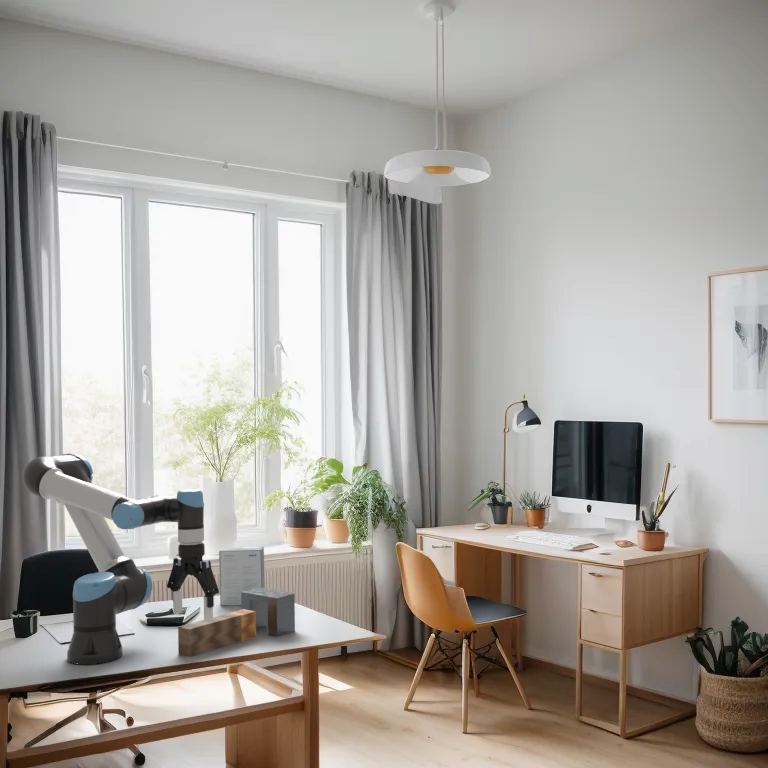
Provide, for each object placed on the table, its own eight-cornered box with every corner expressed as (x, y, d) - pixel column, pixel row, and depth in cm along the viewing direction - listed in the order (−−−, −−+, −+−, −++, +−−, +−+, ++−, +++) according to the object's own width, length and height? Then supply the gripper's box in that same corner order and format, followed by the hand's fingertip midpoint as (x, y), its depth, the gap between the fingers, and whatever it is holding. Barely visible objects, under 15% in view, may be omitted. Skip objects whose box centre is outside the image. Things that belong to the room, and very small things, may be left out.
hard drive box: (265, 600, 321) (265, 546, 322) (262, 605, 313) (261, 550, 314) (223, 601, 321) (223, 547, 322) (219, 605, 314) (218, 550, 314)
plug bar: (190, 657, 250) (190, 629, 250) (177, 654, 253) (177, 626, 254) (255, 637, 271) (255, 611, 271) (243, 634, 274) (243, 609, 274)
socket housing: (277, 636, 271) (276, 598, 271) (241, 629, 280) (241, 591, 281) (294, 631, 277) (294, 593, 277) (259, 624, 287) (258, 587, 287)
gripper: (230, 544, 250) (231, 618, 250) (174, 538, 265) (175, 608, 265) (210, 547, 244) (211, 623, 244) (153, 541, 259) (155, 613, 259)
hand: (193, 615), depth 254 cm, fingers open, 13 cm apart
